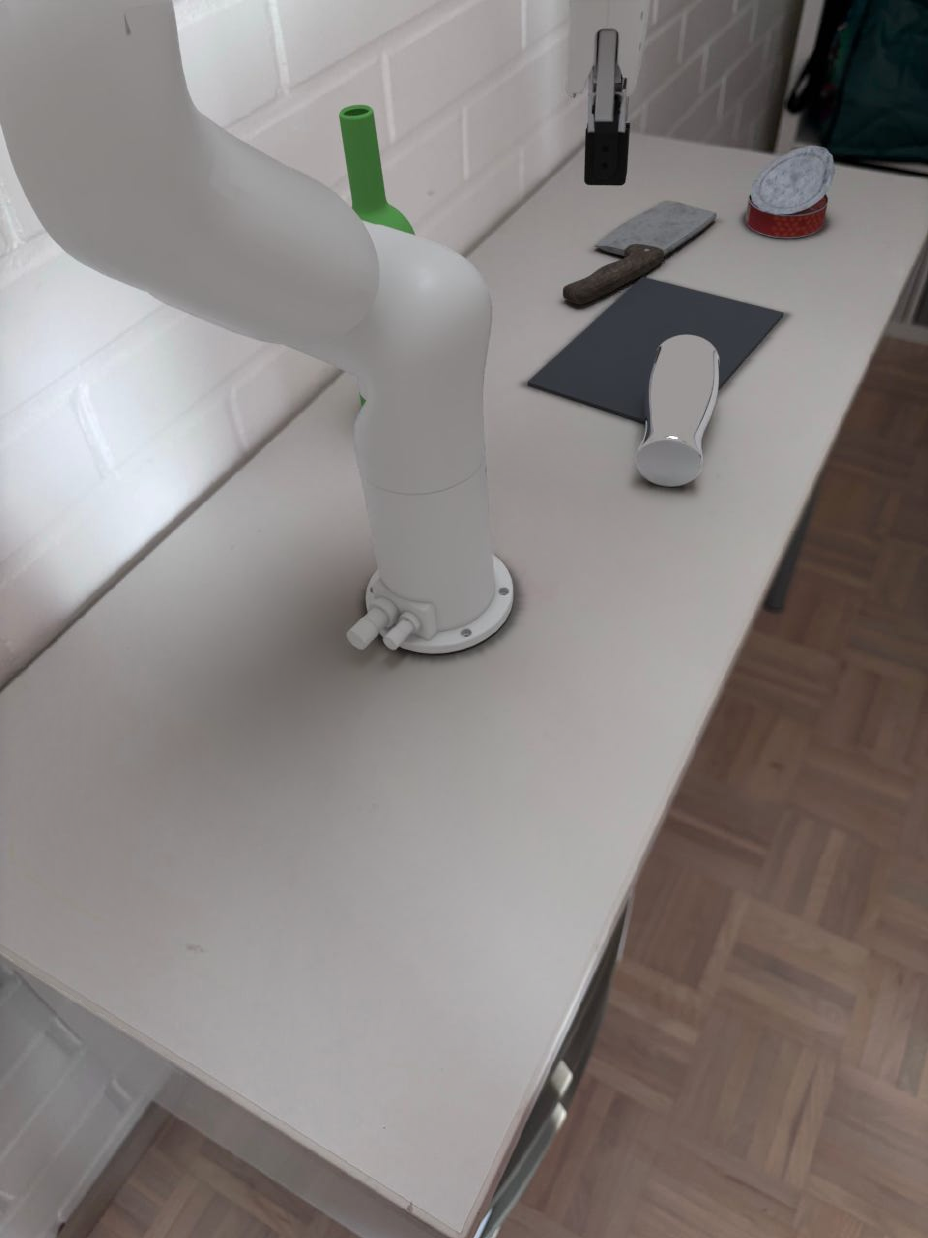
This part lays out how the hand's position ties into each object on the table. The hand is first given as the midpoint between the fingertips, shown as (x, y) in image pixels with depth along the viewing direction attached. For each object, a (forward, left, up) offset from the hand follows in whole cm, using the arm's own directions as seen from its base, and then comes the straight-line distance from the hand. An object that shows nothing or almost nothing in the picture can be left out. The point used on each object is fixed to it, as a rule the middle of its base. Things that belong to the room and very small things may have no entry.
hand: (605, 180), depth 74 cm
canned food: (+55, +3, -27) cm, 61 cm away
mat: (+20, +3, -27) cm, 33 cm away
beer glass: (-1, -8, -24) cm, 25 cm away
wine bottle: (-4, +21, -27) cm, 35 cm away
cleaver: (+38, +16, -27) cm, 49 cm away
